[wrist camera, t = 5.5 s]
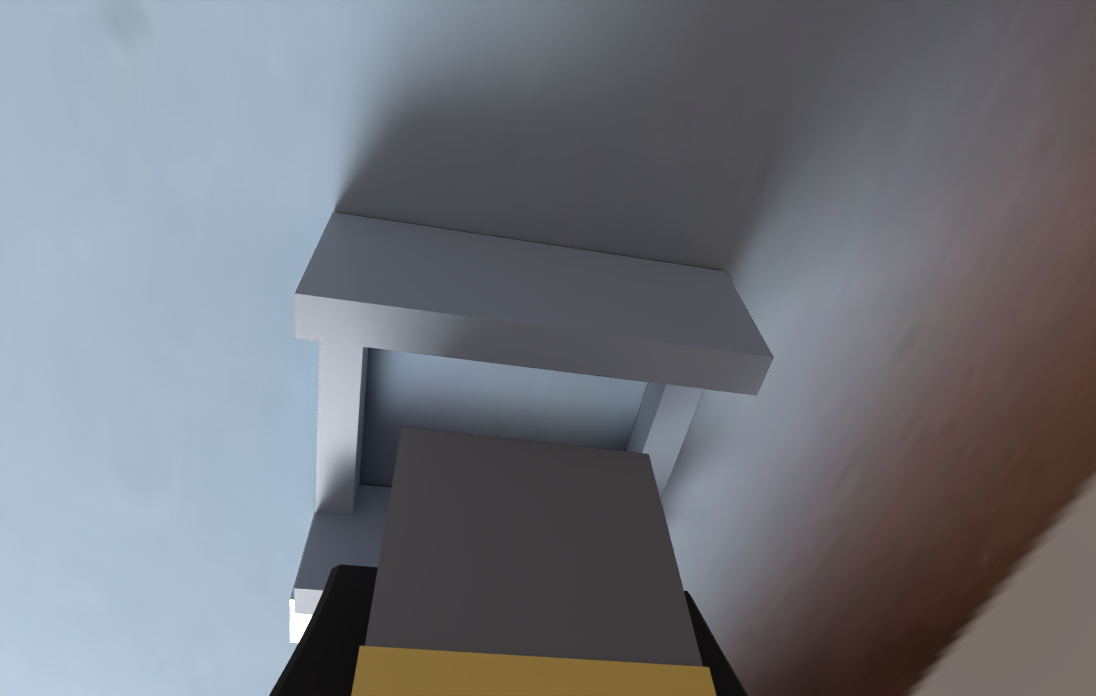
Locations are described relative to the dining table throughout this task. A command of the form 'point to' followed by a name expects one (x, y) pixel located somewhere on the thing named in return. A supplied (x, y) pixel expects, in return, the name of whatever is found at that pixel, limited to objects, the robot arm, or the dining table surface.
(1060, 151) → the dining table surface
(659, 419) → the holder
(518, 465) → the block
